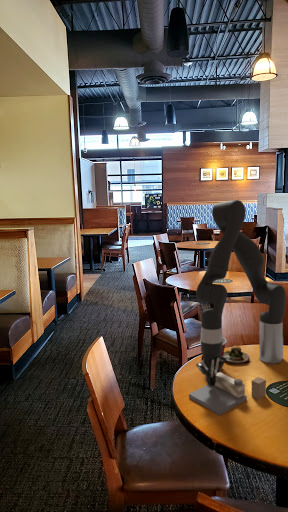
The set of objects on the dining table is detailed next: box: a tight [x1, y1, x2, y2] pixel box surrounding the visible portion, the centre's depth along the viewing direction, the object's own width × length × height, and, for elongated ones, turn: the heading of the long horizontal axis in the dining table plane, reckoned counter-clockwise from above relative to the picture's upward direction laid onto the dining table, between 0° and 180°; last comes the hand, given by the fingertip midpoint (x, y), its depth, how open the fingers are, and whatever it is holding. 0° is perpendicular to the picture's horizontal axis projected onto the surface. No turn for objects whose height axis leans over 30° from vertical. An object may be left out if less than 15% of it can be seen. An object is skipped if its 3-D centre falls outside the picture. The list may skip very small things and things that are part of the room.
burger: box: [223, 345, 250, 364], centre depth 155 cm, size 12×12×8 cm
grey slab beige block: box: [188, 376, 267, 416], centre depth 126 cm, size 21×17×6 cm
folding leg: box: [205, 371, 246, 398], centre depth 129 cm, size 16×3×5 cm, turn 35°
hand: (211, 385), depth 129 cm, fingers closed
